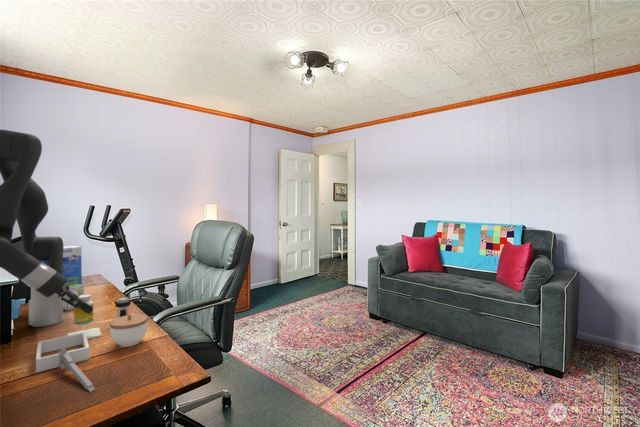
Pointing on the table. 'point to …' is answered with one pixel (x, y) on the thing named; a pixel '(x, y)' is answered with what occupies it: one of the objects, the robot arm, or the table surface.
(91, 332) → the rubber mat
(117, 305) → the push button
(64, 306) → the ink box
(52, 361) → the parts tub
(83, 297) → the supplement bottle
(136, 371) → the table surface
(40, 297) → the robot arm
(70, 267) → the string lights box
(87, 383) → the caliper
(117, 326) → the lidded jar
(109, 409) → the table surface
